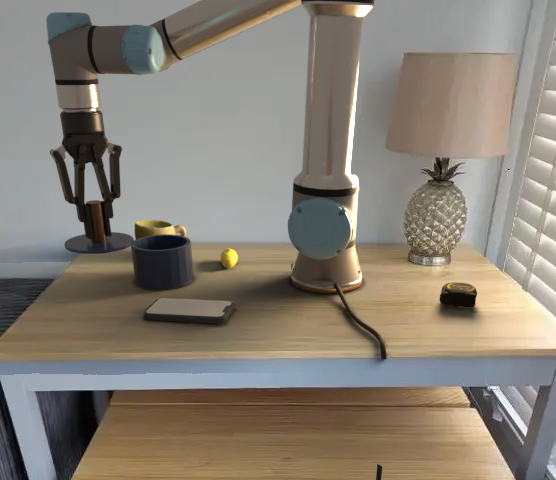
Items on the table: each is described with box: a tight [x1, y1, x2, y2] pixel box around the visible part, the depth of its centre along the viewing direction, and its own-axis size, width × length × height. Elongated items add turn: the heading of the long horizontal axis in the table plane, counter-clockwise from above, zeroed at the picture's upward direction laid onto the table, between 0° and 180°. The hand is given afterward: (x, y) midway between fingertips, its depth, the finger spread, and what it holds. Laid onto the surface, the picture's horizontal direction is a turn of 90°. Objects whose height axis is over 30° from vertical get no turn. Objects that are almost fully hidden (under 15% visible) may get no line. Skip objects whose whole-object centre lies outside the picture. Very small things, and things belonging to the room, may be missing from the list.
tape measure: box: [439, 281, 478, 309], centre depth 121 cm, size 7×7×4 cm
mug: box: [134, 219, 187, 240], centre depth 149 cm, size 12×10×10 cm
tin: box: [130, 234, 194, 291], centre depth 133 cm, size 13×13×8 cm
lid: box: [63, 199, 135, 255], centre depth 122 cm, size 14×14×9 cm
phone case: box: [143, 297, 235, 325], centre depth 118 cm, size 9×2×16 cm
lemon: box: [220, 247, 239, 269], centre depth 143 cm, size 4×8×4 cm, turn 179°
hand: (98, 235), depth 123 cm, fingers closed on lid, 3 cm apart
